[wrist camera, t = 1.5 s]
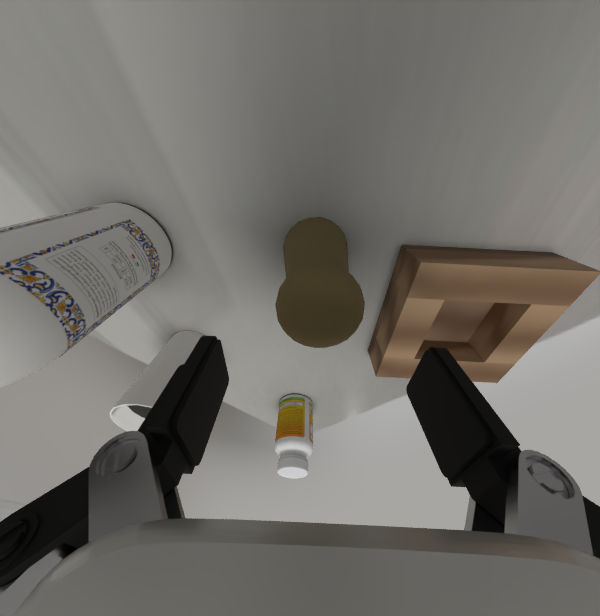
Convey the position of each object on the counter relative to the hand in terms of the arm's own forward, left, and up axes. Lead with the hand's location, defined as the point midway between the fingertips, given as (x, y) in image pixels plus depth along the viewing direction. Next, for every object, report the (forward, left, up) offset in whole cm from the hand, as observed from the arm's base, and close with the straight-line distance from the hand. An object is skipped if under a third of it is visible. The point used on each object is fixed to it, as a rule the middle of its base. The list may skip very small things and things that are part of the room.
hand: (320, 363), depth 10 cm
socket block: (+5, +15, -13) cm, 21 cm away
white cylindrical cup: (+13, -15, -13) cm, 24 cm away
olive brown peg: (-1, 0, -13) cm, 13 cm away
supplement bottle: (+25, -1, -13) cm, 29 cm away
